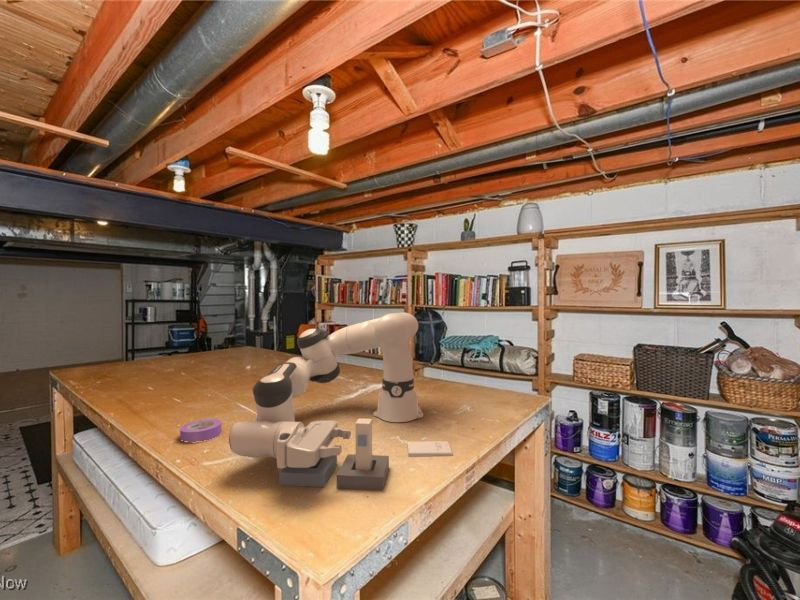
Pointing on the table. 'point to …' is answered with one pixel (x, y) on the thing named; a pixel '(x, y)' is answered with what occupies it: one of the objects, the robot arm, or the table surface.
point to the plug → (364, 444)
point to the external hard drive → (429, 448)
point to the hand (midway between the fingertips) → (345, 442)
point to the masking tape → (200, 430)
